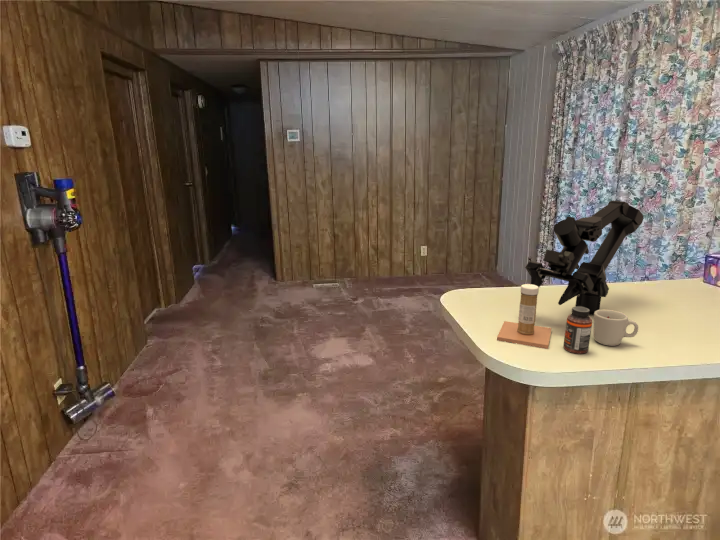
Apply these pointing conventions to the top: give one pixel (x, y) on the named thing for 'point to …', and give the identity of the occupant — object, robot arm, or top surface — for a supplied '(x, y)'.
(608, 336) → the cup
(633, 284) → the top surface
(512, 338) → the terracotta tile
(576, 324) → the supplement bottle
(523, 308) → the sprinkles bottle
